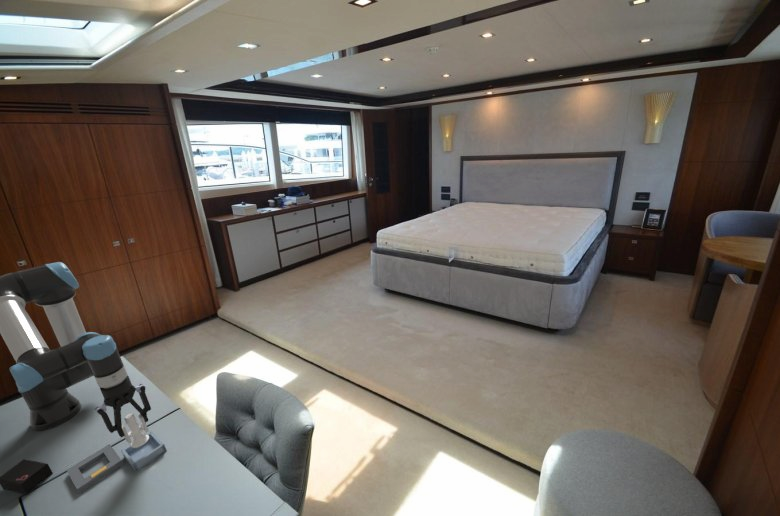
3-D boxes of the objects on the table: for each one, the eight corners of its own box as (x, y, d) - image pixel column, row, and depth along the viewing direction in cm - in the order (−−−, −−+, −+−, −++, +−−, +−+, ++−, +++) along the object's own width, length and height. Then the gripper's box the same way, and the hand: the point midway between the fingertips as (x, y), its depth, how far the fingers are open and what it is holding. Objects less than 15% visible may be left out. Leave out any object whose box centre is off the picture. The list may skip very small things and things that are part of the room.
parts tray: (124, 456, 119) (121, 450, 118) (154, 437, 126) (151, 431, 125) (135, 472, 113) (132, 465, 112) (166, 450, 120) (164, 444, 119)
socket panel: (68, 474, 114) (66, 469, 113) (111, 448, 123) (109, 443, 122) (79, 493, 107) (76, 488, 106) (123, 464, 116) (121, 459, 115)
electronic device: (30, 469, 117) (24, 458, 115) (53, 473, 115) (47, 463, 113) (3, 490, 110) (-4, 479, 108) (27, 495, 108) (20, 484, 106)
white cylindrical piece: (132, 451, 114) (120, 423, 110) (129, 442, 117) (117, 415, 113) (151, 440, 117) (140, 413, 113) (147, 432, 121) (136, 406, 117)
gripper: (83, 403, 100) (110, 460, 108) (149, 369, 113) (169, 422, 121) (75, 393, 104) (103, 449, 112) (140, 362, 117) (160, 414, 125)
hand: (137, 435), depth 116 cm, fingers closed on white cylindrical piece, 4 cm apart
